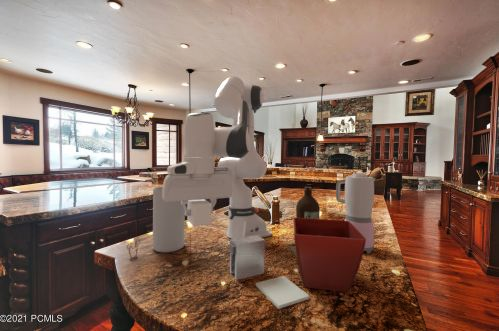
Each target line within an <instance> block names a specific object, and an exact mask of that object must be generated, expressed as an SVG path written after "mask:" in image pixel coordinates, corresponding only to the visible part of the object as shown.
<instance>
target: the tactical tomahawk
mask: <svg viewBox="0 0 499 331" xmlns="http://www.w3.org/2000/svg"><path fill="white" fill-rule="evenodd" d="M284 246H285V247H284V248H286V247H288V248H289V249H290V250H291V251H292V253H293V255H294V256H295V258H296V259H297V255H296V248H294V247H295V243H291V244H290V243H289V244H287V245H284Z"/></svg>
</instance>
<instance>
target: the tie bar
mask: <svg viewBox="0 0 499 331" xmlns="http://www.w3.org/2000/svg"><path fill="white" fill-rule="evenodd" d="M265 249H267V241H265V246H264V250H265ZM230 253H231V254H232V255H234V254H235V245H233V244H231V245H230V244H229V254H230Z"/></svg>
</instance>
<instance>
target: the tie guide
mask: <svg viewBox="0 0 499 331" xmlns="http://www.w3.org/2000/svg"><path fill="white" fill-rule="evenodd" d="M229 240H230V241H229V242H230V243H229V246H230V245H231V244H233V245H235V254H234V255H232V254H231V253H230V252H229V273H230V275H233V274H234V280H235V281H237V280H241V279H246V278H250V277H251V278H252V277H254V276H259V275H262V274H263V275H264V274H265V249H264V246H265V239H264V238H263V237H262V238H261V237H259V236H257V235H256V236H249V237H242V238H236V239H232V238H230V239H229Z"/></svg>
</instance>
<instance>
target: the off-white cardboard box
mask: <svg viewBox="0 0 499 331" xmlns="http://www.w3.org/2000/svg"><path fill="white" fill-rule="evenodd" d="M186 207H187V209H191V216H186V217H187V221H188V222H189V223H190V224H191V225H192V227H200V226H208V225H212V214H211V201H209V200H208V199H201V200H187V204H186Z"/></svg>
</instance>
